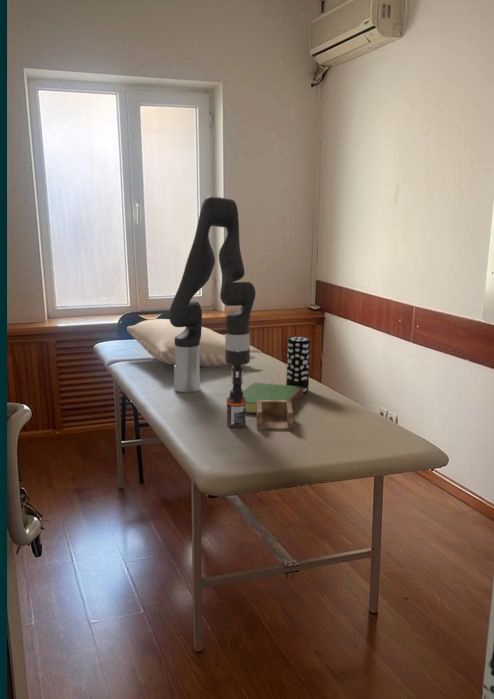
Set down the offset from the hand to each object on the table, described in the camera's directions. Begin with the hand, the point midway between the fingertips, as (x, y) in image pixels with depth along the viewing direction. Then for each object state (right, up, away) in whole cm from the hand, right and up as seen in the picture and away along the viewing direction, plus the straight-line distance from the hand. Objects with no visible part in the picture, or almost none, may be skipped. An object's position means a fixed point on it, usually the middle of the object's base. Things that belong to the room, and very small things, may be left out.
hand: (237, 398), depth 191 cm
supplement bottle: (0, -9, +2) cm, 9 cm away
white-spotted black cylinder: (+22, -1, +38) cm, 44 cm away
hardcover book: (+11, -4, +24) cm, 26 cm away
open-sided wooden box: (+12, -8, +4) cm, 15 cm away
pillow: (-22, +9, +76) cm, 80 cm away
